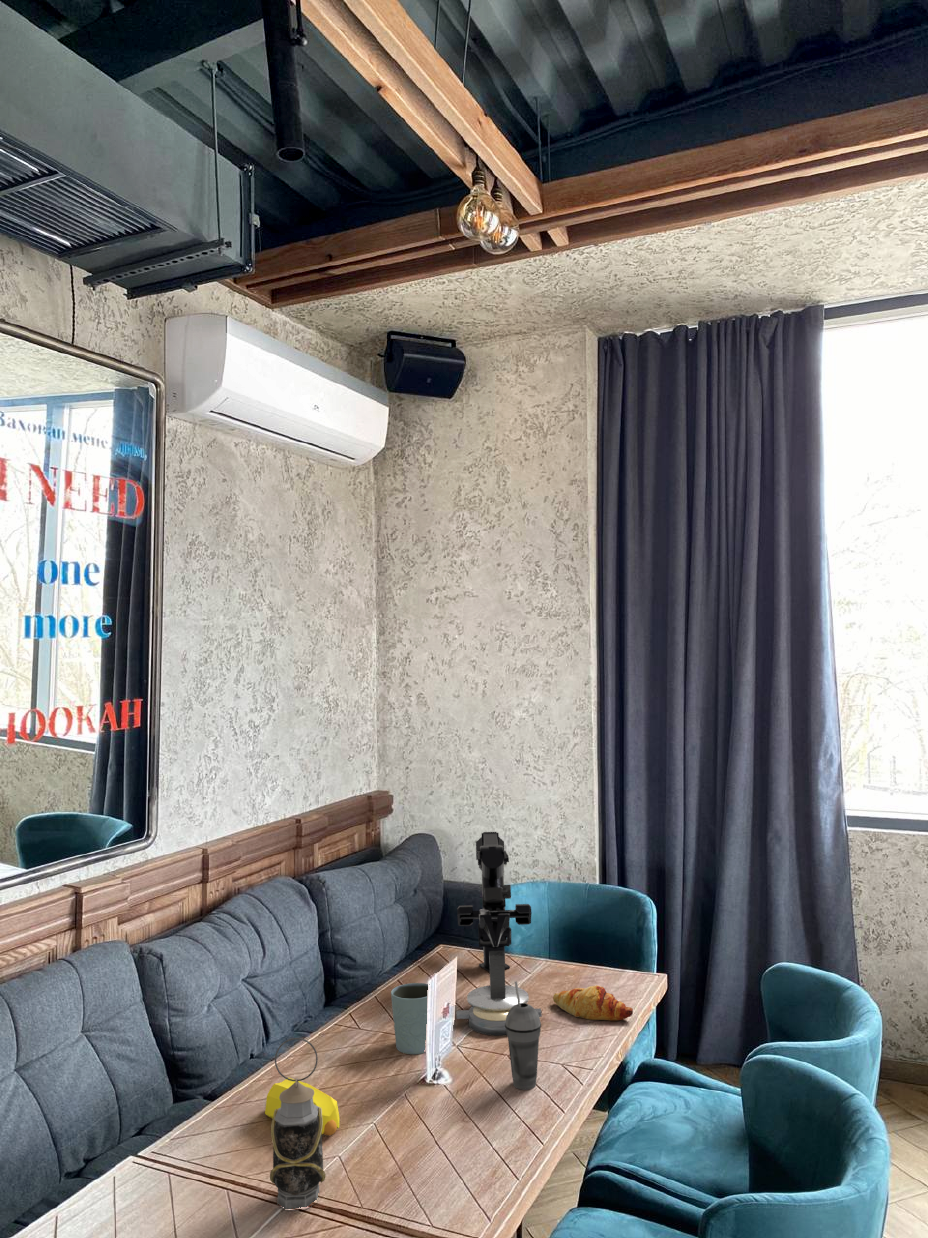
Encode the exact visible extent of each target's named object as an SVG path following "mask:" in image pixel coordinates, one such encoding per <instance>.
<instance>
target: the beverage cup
mask: <svg viewBox="0 0 928 1238" xmlns="http://www.w3.org/2000/svg"><path fill="white" fill-rule="evenodd" d="M514 987H515V988H516V995H517V1002H518V1004H516V1005H515V1006H513V1007H512V1008H511V1009H510V1010H509V1012H508V1014H507V1016H506V1023H505V1028H506V1033H507V1035H506V1037H507V1041H508V1049H509V1050H508V1051H509V1061H510V1069H511V1076H512V1082H513V1085H512V1086H513V1087H514V1088H516V1089H518V1090H524V1091H525V1090H532V1089H534V1088H536V1086H537V1077H538V1063H539V1062H538V1061H539V1046H540V1045H539V1044H540V1043H539V1042H540V1035H541V1028H542V1022H541V1019H540V1018H541V1017H539V1015H538V1013H537V1011H536V1010H535V1009H536V1008H535V1007H533V1005H531V1004H529V1003H520V998H519V991H518V988H519V984H518V981H517V980H516V981H514Z"/></svg>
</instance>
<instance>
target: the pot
mask: <svg viewBox="0 0 928 1238" xmlns="http://www.w3.org/2000/svg"><path fill="white" fill-rule="evenodd" d="M534 1009H535V1010H536V1011H537V1013H538V1015H539V1017H540V1018H542V1017H543V1013H542V1008H534ZM508 1012H509V1010H506V1011H488V1010H482V1009H478V1008H475V1007H473V1006H471V1007H470V1008H469V1009H467V1010H465V1009H464V1010H461V1009H460V1010H459V1009H458V1010H456V1013H455V1014H456V1016H455V1017H456V1019H457V1020H467V1019H468V1026H469V1028H470V1029H471V1030H472V1031H473V1032H476V1033H477V1034H481V1035H485V1036H486V1035H487V1036H492V1037H493V1036H494V1037H499V1036H500V1037H501V1036H507V1033H506V1028H505V1023H506V1016H507V1014H508Z"/></svg>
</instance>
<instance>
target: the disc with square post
mask: <svg viewBox="0 0 928 1238" xmlns="http://www.w3.org/2000/svg"><path fill="white" fill-rule="evenodd" d="M489 963H490V972H489V985H485V986H480V987H476V988H474V989H472V990H471V991H469V992H468V993H467V996H466V999H467V1000H466V1001H467V1003H468V1004H469V1005H470V1006H471V1007H472V1006H473V1007H475V1008H478V1009H482V1010H488V1011H506V1010H510V1009H511V1008H512V1007H513V1006H515V1005H516V1004H518V1002H517V995H516V988H515V985H508V984H506V969H505V964H506V960H505V961H504V951H489ZM518 991H519V998H520V1003H526V1004H528V1003H529V1001H530V1000H529V999H530V997H529V993H528V992H527V991H526V990H525V989H524V988H521V987H518Z"/></svg>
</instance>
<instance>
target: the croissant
mask: <svg viewBox="0 0 928 1238" xmlns="http://www.w3.org/2000/svg"><path fill="white" fill-rule="evenodd" d="M552 1000H553V1002H554V1003H555V1004H556V1005H557V1006H558V1007H559V1008H560V1009H561V1010H563V1011H565V1012H566V1013H568V1014H570V1015H572V1016H574V1017H575V1018H583V1019H585V1020H590V1021H603V1020H604V1021H611V1022H613V1021H622V1020H626V1019H628V1018H630V1017H632V1016H633V1012H634V1011H633V1008H632V1006H631V1007H630V1006H627V1005H626V1003H624V1002H622V1001H621V1000H617V998H616V997H615V996H614V994H612V993H609V992H607V991H606V988H604V987H603V986H601V985H597V984H595V985H591V986H587V987H586V988H585V987H582V988H581V987H576V988H572V989H570V990H561V991H560V992H559V993H554V994H553V997H552Z"/></svg>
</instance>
